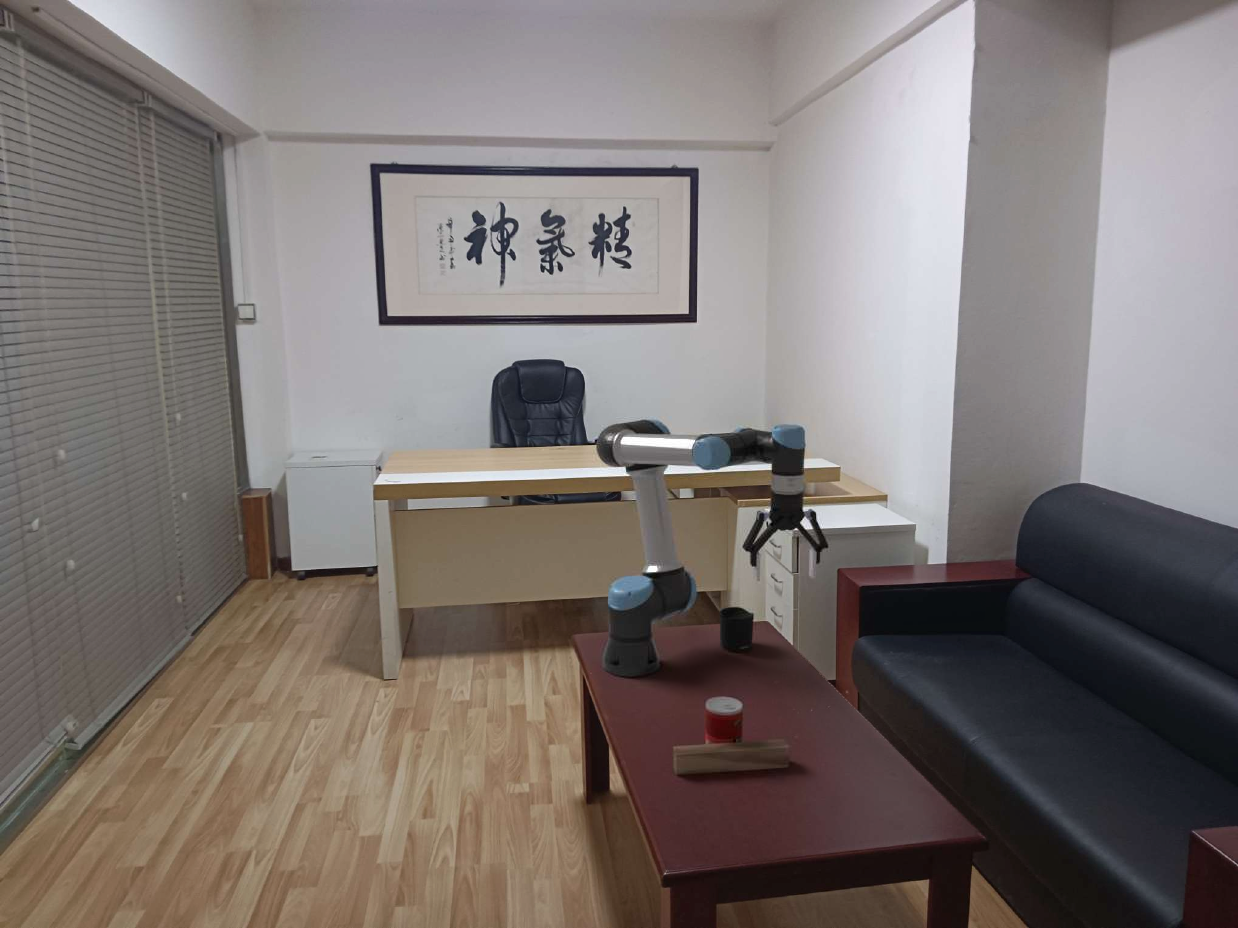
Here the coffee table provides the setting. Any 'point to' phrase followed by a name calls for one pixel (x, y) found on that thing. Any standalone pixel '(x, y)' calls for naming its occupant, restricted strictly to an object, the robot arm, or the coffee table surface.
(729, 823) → the coffee table surface
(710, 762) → the board
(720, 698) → the canned food
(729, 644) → the pen holder
